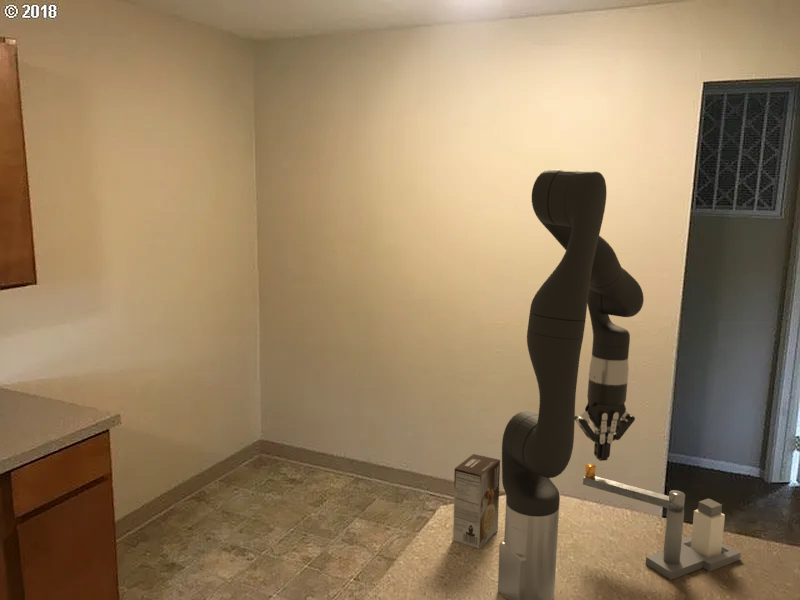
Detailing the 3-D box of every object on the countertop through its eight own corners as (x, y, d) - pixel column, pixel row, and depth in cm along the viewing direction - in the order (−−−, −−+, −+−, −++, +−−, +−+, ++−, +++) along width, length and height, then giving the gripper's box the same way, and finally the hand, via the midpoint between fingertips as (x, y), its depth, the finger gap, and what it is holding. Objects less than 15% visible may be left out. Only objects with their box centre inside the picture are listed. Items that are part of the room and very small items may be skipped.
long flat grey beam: (685, 507, 130) (687, 488, 129) (681, 513, 127) (683, 493, 127) (587, 480, 141) (588, 462, 140) (582, 485, 139) (583, 466, 138)
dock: (677, 584, 126) (682, 525, 124) (639, 560, 134) (644, 504, 132) (740, 559, 134) (746, 503, 132) (701, 538, 142) (706, 485, 140)
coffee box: (471, 522, 148) (473, 452, 145) (498, 530, 144) (501, 459, 142) (451, 541, 140) (453, 467, 137) (480, 550, 137) (482, 475, 134)
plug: (707, 561, 133) (712, 509, 132) (690, 551, 137) (694, 501, 135) (720, 556, 135) (726, 505, 133) (703, 547, 139) (708, 496, 137)
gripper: (587, 384, 132) (581, 469, 135) (647, 382, 135) (640, 464, 138) (569, 374, 139) (563, 454, 142) (627, 371, 142) (620, 450, 145)
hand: (601, 459), depth 140 cm, fingers closed
